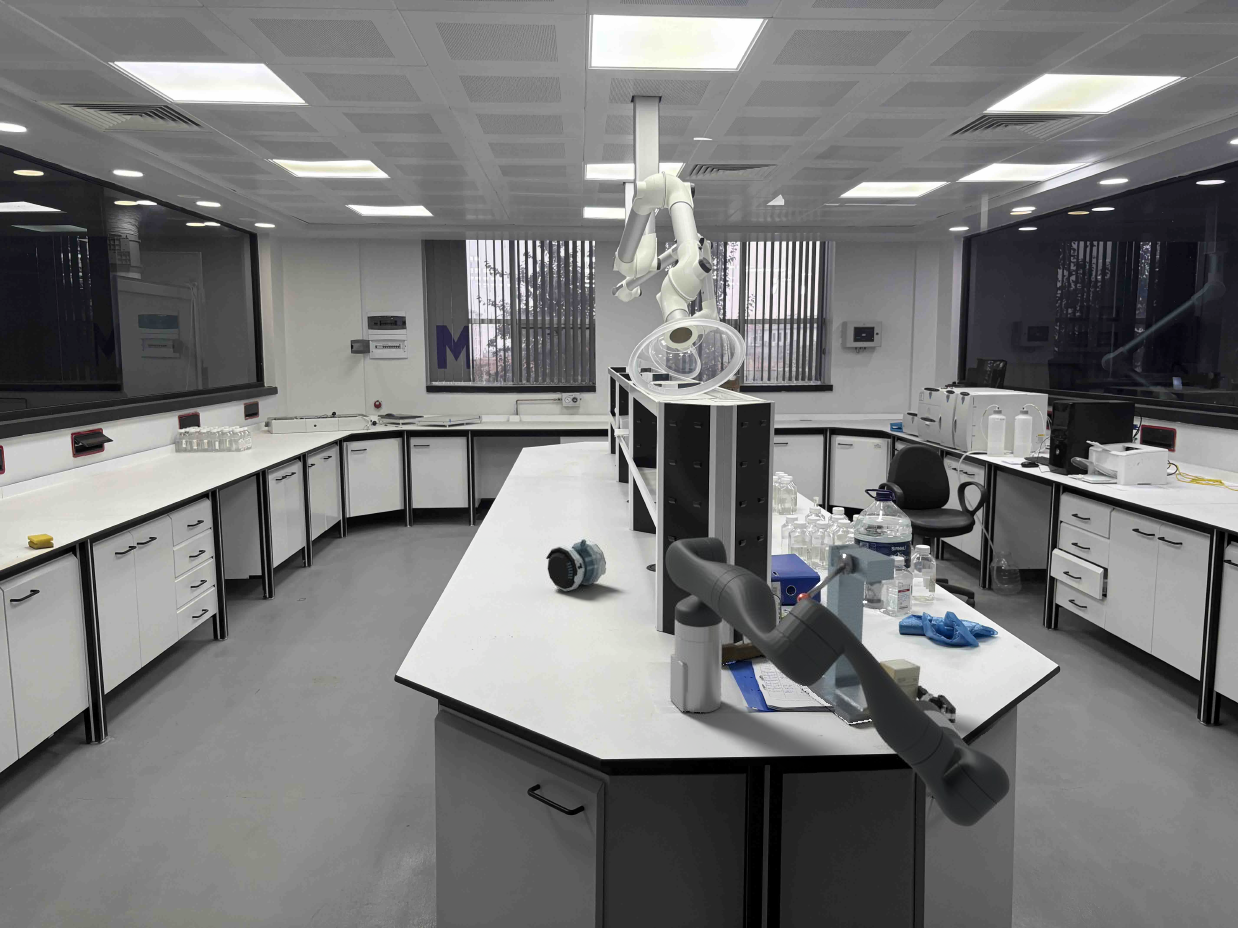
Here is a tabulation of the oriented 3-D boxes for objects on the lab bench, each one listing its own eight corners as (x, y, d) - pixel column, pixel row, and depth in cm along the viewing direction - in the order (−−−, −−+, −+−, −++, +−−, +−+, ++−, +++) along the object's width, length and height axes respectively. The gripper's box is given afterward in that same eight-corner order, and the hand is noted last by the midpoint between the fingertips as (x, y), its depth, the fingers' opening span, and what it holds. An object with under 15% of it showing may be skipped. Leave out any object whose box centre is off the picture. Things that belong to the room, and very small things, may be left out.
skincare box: (896, 721, 150) (904, 658, 149) (914, 730, 146) (922, 666, 145) (870, 724, 147) (878, 660, 146) (887, 734, 143) (895, 668, 142)
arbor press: (821, 729, 147) (827, 571, 142) (775, 692, 162) (779, 549, 158) (920, 713, 153) (929, 561, 149) (867, 679, 169) (873, 540, 165)
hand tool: (774, 649, 187) (774, 630, 186) (784, 655, 184) (785, 635, 183) (705, 663, 179) (705, 643, 178) (715, 669, 175) (715, 649, 175)
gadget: (560, 601, 229) (585, 567, 222) (536, 567, 235) (559, 533, 227) (594, 590, 240) (618, 557, 232) (570, 559, 245) (593, 525, 238)
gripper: (883, 753, 131) (856, 708, 147) (972, 754, 131) (934, 709, 147) (886, 710, 130) (858, 670, 146) (975, 711, 129) (937, 670, 146)
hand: (896, 690), depth 146 cm, fingers closed on skincare box, 7 cm apart
